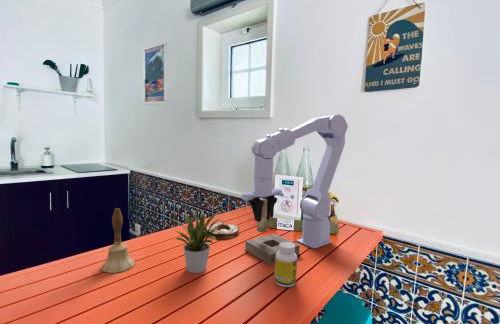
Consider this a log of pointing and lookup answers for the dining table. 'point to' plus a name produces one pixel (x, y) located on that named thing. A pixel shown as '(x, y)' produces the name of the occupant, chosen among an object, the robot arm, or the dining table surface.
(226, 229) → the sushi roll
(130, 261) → the hand bell
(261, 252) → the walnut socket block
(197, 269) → the house plant
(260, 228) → the beech peg
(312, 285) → the dining table surface
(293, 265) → the supplement bottle
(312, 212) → the robot arm
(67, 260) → the dining table surface
